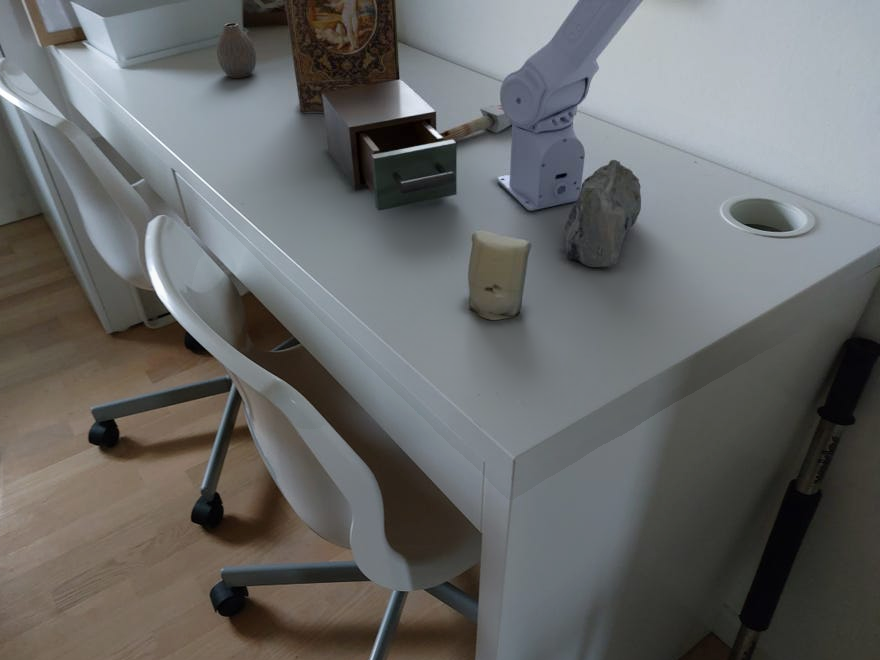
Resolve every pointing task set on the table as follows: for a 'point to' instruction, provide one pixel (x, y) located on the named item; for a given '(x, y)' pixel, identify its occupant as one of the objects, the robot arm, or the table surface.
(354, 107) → the cabinet
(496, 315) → the cream tall block
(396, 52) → the book
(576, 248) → the mineral rock
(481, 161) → the table surface
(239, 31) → the vase
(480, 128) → the paintbrush
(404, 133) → the drawer
